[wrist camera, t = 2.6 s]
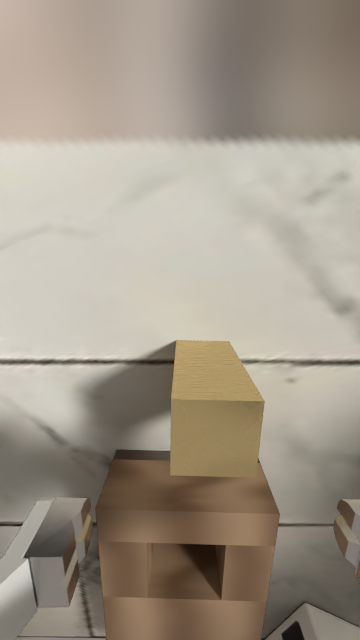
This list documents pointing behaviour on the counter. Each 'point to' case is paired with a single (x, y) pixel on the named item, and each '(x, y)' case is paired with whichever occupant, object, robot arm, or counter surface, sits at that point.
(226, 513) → the walnut socket block
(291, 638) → the container
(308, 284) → the counter surface
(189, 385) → the light wooden square bit
